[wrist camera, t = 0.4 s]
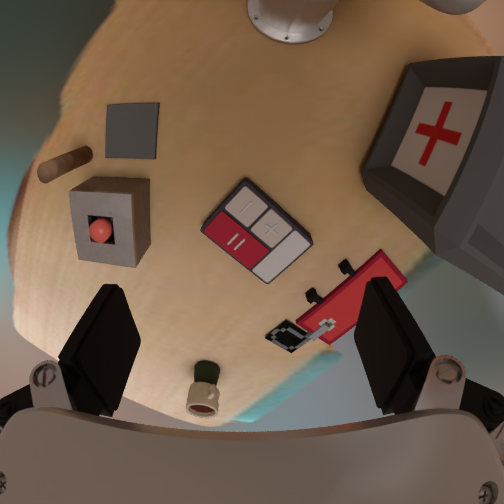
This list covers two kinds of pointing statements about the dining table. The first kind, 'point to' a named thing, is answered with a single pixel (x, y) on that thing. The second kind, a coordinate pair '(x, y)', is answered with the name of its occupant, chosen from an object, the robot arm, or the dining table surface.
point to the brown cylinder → (63, 164)
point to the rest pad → (131, 130)
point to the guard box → (124, 219)
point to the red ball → (101, 229)
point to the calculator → (257, 232)
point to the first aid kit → (447, 161)
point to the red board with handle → (336, 305)
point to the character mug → (204, 391)
